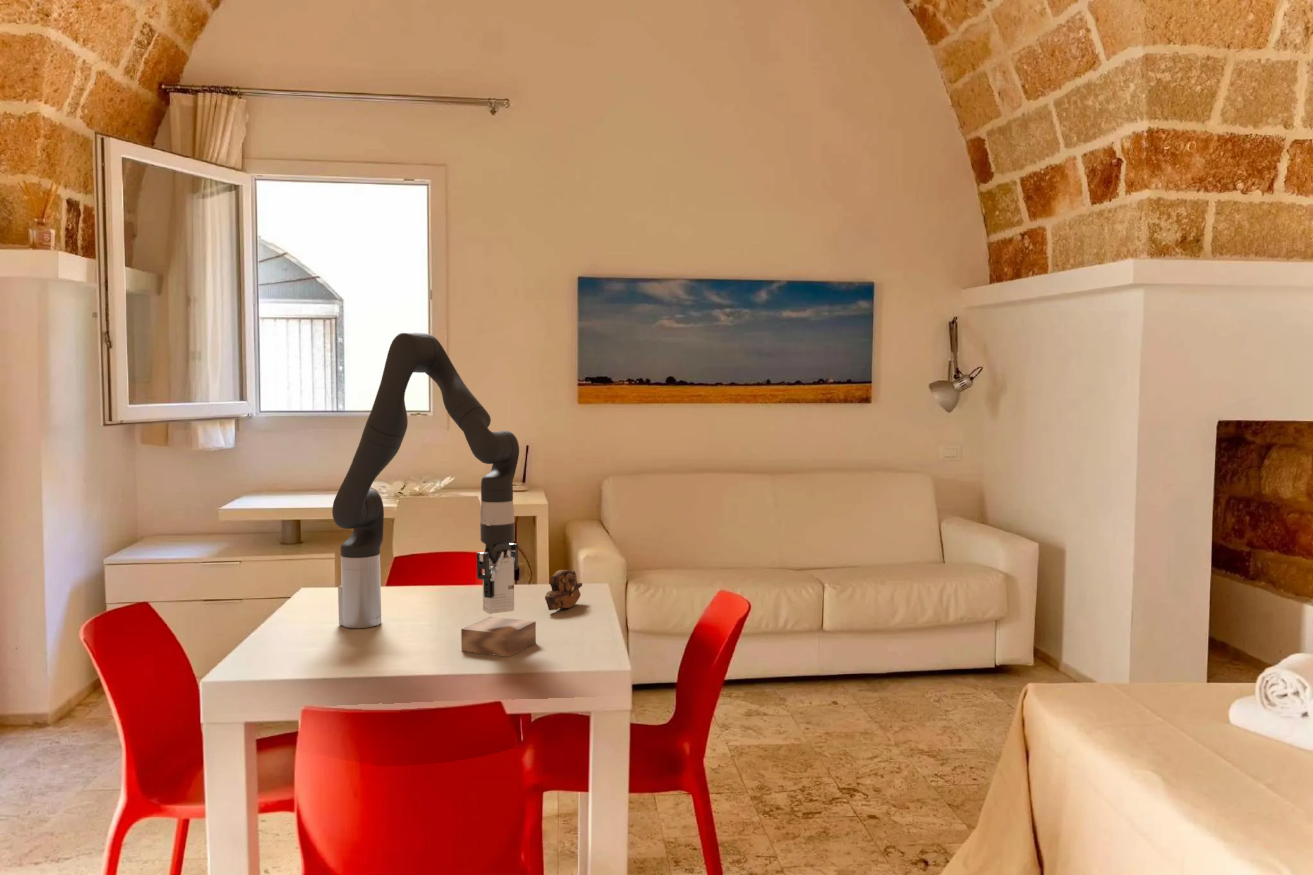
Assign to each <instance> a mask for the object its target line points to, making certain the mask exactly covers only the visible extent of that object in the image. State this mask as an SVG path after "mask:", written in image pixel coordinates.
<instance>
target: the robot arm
mask: <svg viewBox="0 0 1313 875" xmlns="http://www.w3.org/2000/svg"><path fill="white" fill-rule="evenodd" d="M445 350H446V349H445V348H444V347H443V345H442V344H441V342H440V341H439V340H438V339H437V338H436V337H435V336H434V335H433V334H430V333H424V332H412V331H411V332H409V331H406V332H405V331H404V332H400V333H399V334H397V335H396V336H395V337H394V338H393V339H392V341H391V344H390V346H389V349H388V352H387V356H386V359H385V360H386V361H385V363H384V367H383V373H382V375H381V379H380V383H379V385H378V390H377V392H376V395H375V399H374V400H373V402H374V403H373V404H372V407H371V410H370V413H369V415H368V417H367V420H366V423H365V425H364V428H363V431H362V434H361V437H360V441H359V443H358V446H357V448H356V451H355V453H354V456H353V459H352V461H351V464H350V466H349V468H348V471H347V473H346V475H345V477H344V479H343V481H342V483H341V484H340V487H339V489H338V491H337V493H336V495H335V497H334V500H333V502H332V510H331V514H332V518H333V521H334V523H335V525H336V526H337V527H338V528H341V529H344V530H345V529H346V530H350V529H353V530H352V532H351V534H350V536H349V537H348V538H347V539H346V540H345V541H344V542H342V543H341V545H340V575H341V578H340V579H341V580H340V581H341V585H338V588H337V596H338V598H337V599H338V601H337V602H338V625H340V626H343V627H344V628H348V629H365V628H371V627H375V626H376V627H377V626H379V625H381V624H382V589H381V588H382V587H381V586H382V585H381V581H382V580H381V547H382V545H383V544H382V543H383V540H384V524H385V523H384V522H385V521H384V520H385V517H384V513H385V511H384V503H383V499H382V496H381V495H380V493H379V492H378V491H377V490H375V489H373V488H371V487H372V485H373V484H374V481H375V480H376V478H377V477H378V476H379V475H380V474H381V473H382V472H383V470H384V469H385V468H386V467H387V466H388V465H389V464H390V462H392V460H393V459H394V458H395V456H397V453H398V452H399V450H400V448H401V445H402V444H403V440H404V438H405V435H406V432H407V429H408V422H409V421H408V412H407V406H406V402H405V395H406V391H407V388H408V384H409V382H410V379H411V378H412V375H413V373H420V374H421V373H425V374H426V375H427V376H429V377H430V379H432V381H433V382H435V383H436V385H437V387H438V388H439V389H440V392H441V396H442V401H443V405H444V407H445V408H444V409H445V411H446V412H447V413H448V415H449V417H450V418H451V419H452V420H453V421H454V423H455V424H456V425H457V426H458V428H459V429H460V430H461V431H462V433H463V434H464V437H465V440H466V442H467V444H468V447H469V448H470V451H471V453H472V454H473V456H474V457H475V459H477V460H479V461H480V462H481V463H483V464H486V465H491V469H490V471H489V472H488V473H487V474H485V475H484V476H483V477H482V478H481V481H480V500H481V501H480V511H479V514H480V518H479V519H480V523H479V524H480V526H479V527H480V541H481V543H482V544H484V545H485V547H484V551H483V552H481V551H480V552H479V551H478V552H476V578H477V579H478V580H482V582H483V581H484V596H485V597H486V598H493V597H494V581H493V580H494V577H495V573H496V572H497V571H498V570H499V566H500V563H501V560H502V559H503V557H513V558H514V571H515V570H518V568H519V544H518V543H513V542H514V541H515V540H516V539H515V537H516V536H515V506H514V486H513V483H514V479H515V474H516V471H517V465H518V461H519V456H520V446H519V441H518V439H517V437H516V435H515V434H514V433H512V432H510V431H508V430H499V431H491V430H490V429H489V427H490V425H491V421H492V420H491V419H492V418H491V416H490V414H489V412H488V411H487V410H486V409H485V407H484V406H483V405H482V404H481V403H480V402H479V399H477V398H476V397H475V395H474V394H473V393H472V392H471V391H470V390H469V388H468V387H467V385H466V384H465V382H464V381H463V379H462V378H461V376H460V374H459V373H458V371H457V368H455V366H454V364H453V362H452V361H451V359H450V358H449V355H448V354H447V352H446V351H445ZM489 560H492V562H493V564H494V565H495V566H493V567H492V566H489ZM483 569H484V571H483ZM489 571H491V574H489Z"/></svg>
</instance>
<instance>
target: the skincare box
mask: <svg viewBox="0 0 1313 875" xmlns="http://www.w3.org/2000/svg"><path fill="white" fill-rule="evenodd" d="M489 566H492V567H493V566H495V565H494V564H493V562H492V560H489ZM483 571H484V569H482V572H483ZM489 574H491V571H489ZM493 581H494V597H493V598H486V597H485V596H484V581H483V580H482V610H483V612H486V613H487V614H488V615H489V614H490V615H493V614H499V613H508V612H513V611H515V570H514V558H513V557H503V559H502V560H501V563H500V566H499V570H498V571H497V572H496V573H495V577H494V580H493Z"/></svg>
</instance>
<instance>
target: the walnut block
mask: <svg viewBox="0 0 1313 875" xmlns="http://www.w3.org/2000/svg"><path fill="white" fill-rule="evenodd" d="M536 624H537V622H536V620H525V619H517V618H516V619H514V618H505V617H497V616H488V617H486V618H484V619H482V620H479V621H476V622H474V623H472V624H469V625H468V626H464V627H463V628H461V629H460V633H461V634H460V637H461V642H460V643H461V652H464V651H468V652H467V653H472V652H473V654H481V653H482V654H483V655H489V654H492V655H491V656H497V655H501V656H500V657H505V656H509V657H511V656H513V655H515V654H518V653H519V652H521V651H523V650H525V649H527V648H529V647H531V646H533V645H535V644H536V643H537V638H536V637H537V635H536V634H537V633H536V632H537V630H536V628H537V627H536ZM530 645H531V646H530ZM528 646H529V647H528ZM526 647H527V648H526ZM522 649H523V650H522ZM518 651H519V652H518ZM514 653H515V654H514ZM493 654H495V655H493ZM512 654H513V655H512ZM510 655H511V656H510Z"/></svg>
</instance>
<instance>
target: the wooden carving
mask: <svg viewBox="0 0 1313 875" xmlns="http://www.w3.org/2000/svg"><path fill="white" fill-rule="evenodd" d="M577 579H578V578H577V574H576V571H575V570H569V569H559V570H556V571H555V573H553V575H551V576H550V578H549V585H550V587H551V590H549V591H548V592H546V594H545V597H544V600H545V602H546V605H547V608H548V611H557V610H559V609H570V608H573V606H574V605H576V604H577V602H578V601H579V599H580V597H581V594H582V593H581V592H580V588H582V587H583V582H578V580H577Z"/></svg>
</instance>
